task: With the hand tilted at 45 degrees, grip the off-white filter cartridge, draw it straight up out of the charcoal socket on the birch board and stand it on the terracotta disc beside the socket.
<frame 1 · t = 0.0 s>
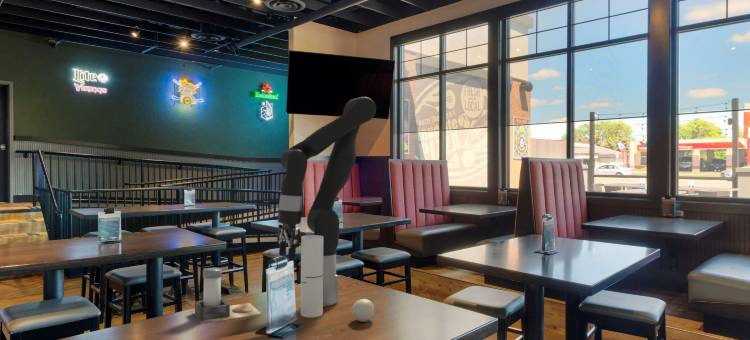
hand: (286, 257, 154), 17 cm above the table, tool pointing down, fingers open, 8 cm apart
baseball: (362, 321, 143), on the table
cylindrical container: (311, 314, 149), on the table
socket board: (226, 317, 145), on the table
filter cartridge: (212, 314, 143), point 1 cm above the table, touching socket board
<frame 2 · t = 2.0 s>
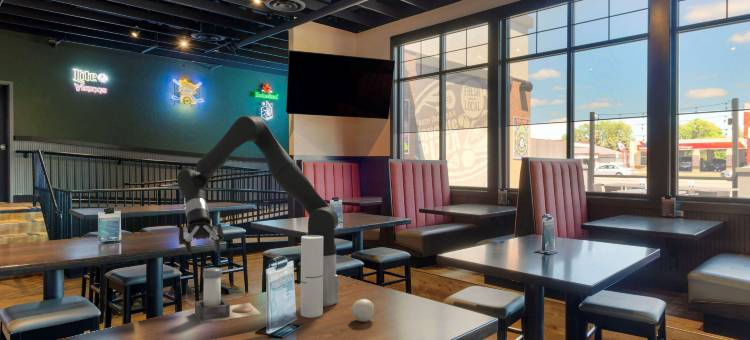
hand: (203, 252, 153), 19 cm above the table, tool tilted 45°, fingers open, 8 cm apart
nothing on the table moved.
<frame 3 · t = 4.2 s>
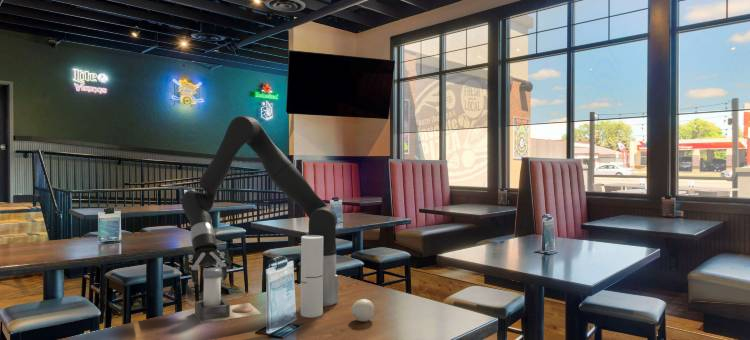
hand: (210, 280, 145), 11 cm above the table, tool tilted 45°, fingers open, 8 cm apart
nothing on the table moved.
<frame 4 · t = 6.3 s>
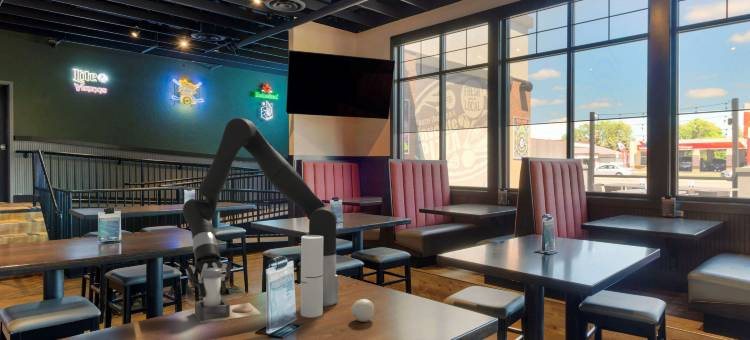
hand: (213, 294, 141), 8 cm above the table, tool tilted 45°, fingers closed on filter cartridge, 5 cm apart
filter cartridge: (212, 314, 143), point 2 cm above the table, touching gripper, socket board
everything else where it was.
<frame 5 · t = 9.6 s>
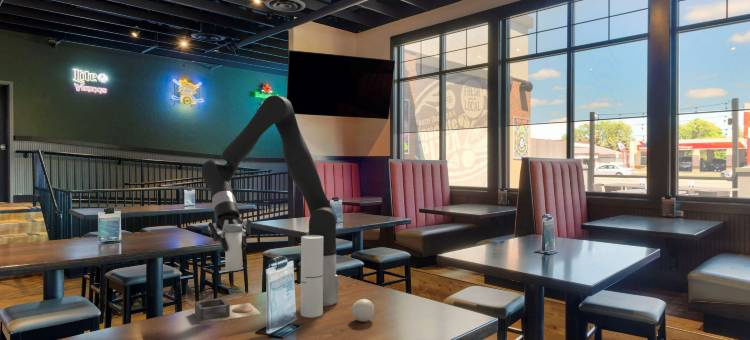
hand: (235, 249, 144), 22 cm above the table, tool tilted 45°, fingers closed on filter cartridge, 5 cm apart
filter cartridge: (233, 269, 146), point 15 cm above the table, touching gripper
everything else where it was.
when the fingers open (10 cm above the table, at t = 12.8 s): filter cartridge drops 1 cm, resting on socket board.
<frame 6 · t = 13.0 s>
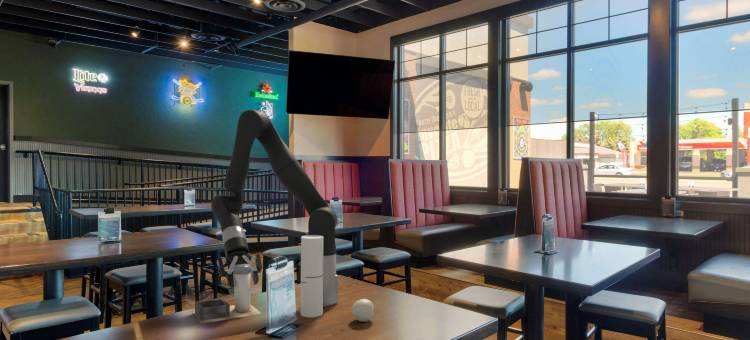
hand: (244, 284, 146), 10 cm above the table, tool tilted 45°, fingers open, 7 cm apart
filter cartridge: (242, 309, 148), point 2 cm above the table, touching socket board
everything else where it was.
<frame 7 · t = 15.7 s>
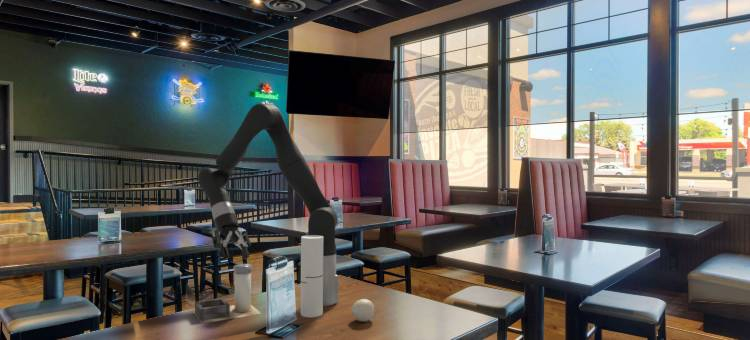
hand: (237, 258, 158), 16 cm above the table, tool tilted 35°, fingers open, 8 cm apart
nothing on the table moved.
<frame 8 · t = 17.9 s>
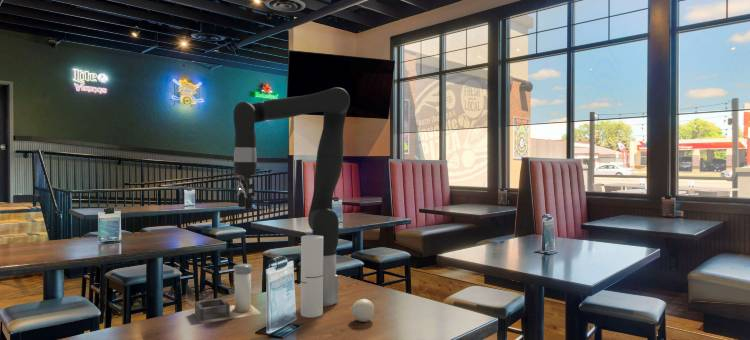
hand: (244, 208, 158), 33 cm above the table, tool pointing down, fingers open, 8 cm apart
nothing on the table moved.
at the end: filter cartridge 0.3 cm from the target spot, point 1.7 cm above the table; filter cartridge tilted 0°; the gripper is holding nothing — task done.
